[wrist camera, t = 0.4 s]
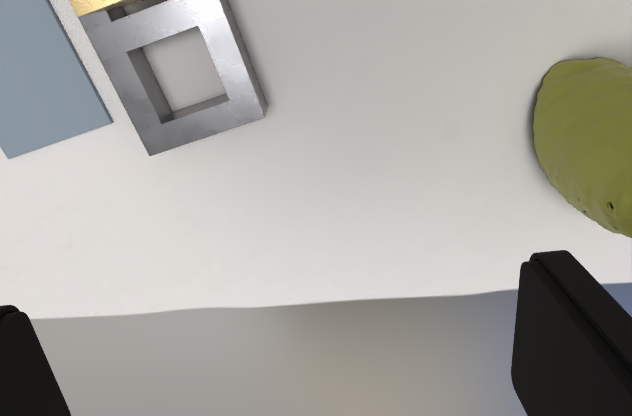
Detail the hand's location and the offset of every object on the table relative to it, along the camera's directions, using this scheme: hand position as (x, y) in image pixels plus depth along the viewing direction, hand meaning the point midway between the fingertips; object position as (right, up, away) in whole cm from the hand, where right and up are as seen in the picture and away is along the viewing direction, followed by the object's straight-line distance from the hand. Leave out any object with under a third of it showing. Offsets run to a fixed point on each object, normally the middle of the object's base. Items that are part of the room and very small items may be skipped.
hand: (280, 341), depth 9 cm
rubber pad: (-23, +14, +31) cm, 41 cm away
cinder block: (-11, +17, +29) cm, 36 cm away
